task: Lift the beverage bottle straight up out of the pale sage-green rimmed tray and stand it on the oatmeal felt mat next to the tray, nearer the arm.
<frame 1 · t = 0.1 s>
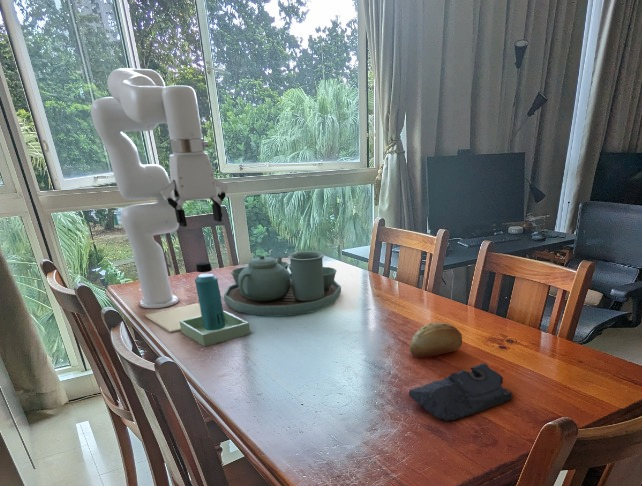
hand: (200, 223, 131), 31 cm above the table, tool pointing down, fingers open, 9 cm apart
mat: (188, 317, 163), on the table
bread roll: (436, 353, 134), on the table
tray: (215, 332, 151), on the table
beverage bottle: (215, 332, 151), resting on tray
folded black shirt: (458, 398, 113), on the table
tea set: (283, 299, 178), on the table
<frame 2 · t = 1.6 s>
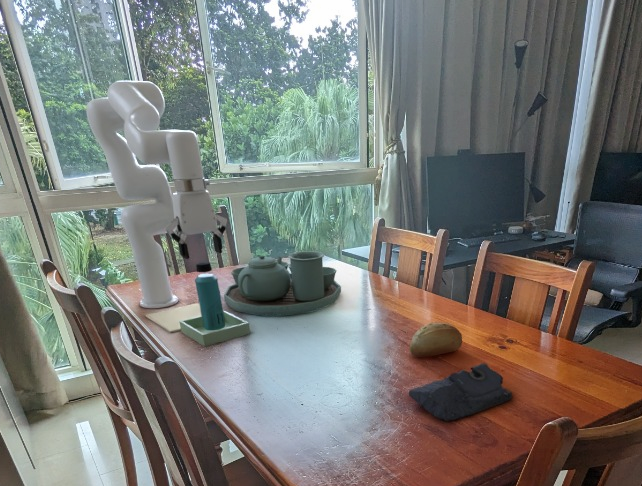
hand: (202, 255, 139), 22 cm above the table, tool pointing down, fingers open, 9 cm apart
nothing on the table moved.
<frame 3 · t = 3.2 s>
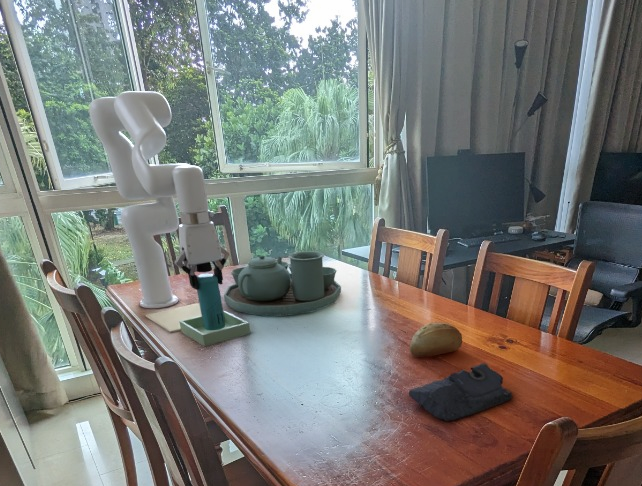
hand: (207, 285, 144), 14 cm above the table, tool pointing down, fingers closed on beverage bottle, 6 cm apart
beverage bottle: (215, 332, 151), resting on tray, touching gripper
everything else where it was.
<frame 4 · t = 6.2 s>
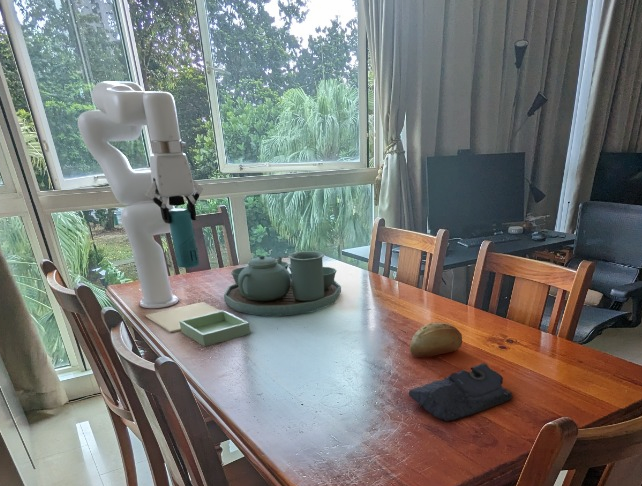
hand: (180, 220, 142), 30 cm above the table, tool pointing down, fingers closed on beverage bottle, 6 cm apart
beverage bottle: (189, 270, 150), point 16 cm above the table, touching gripper
everything else where it was.
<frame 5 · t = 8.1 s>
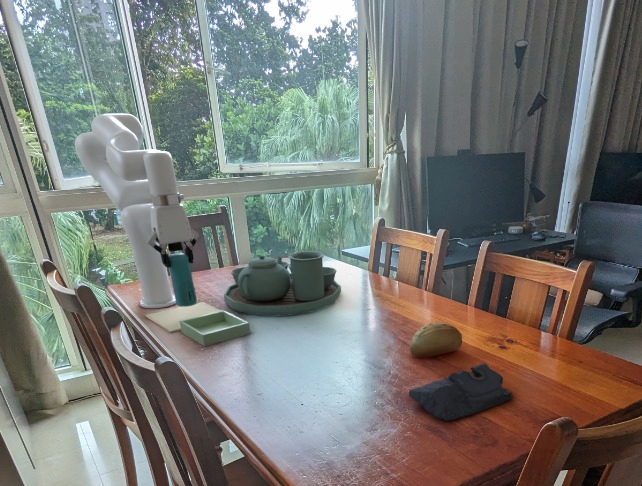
hand: (178, 264, 154), 17 cm above the table, tool pointing down, fingers closed on beverage bottle, 6 cm apart
beverage bottle: (187, 308, 161), point 3 cm above the table, touching gripper
everything else where it was.
when the fingers open (14 cm above the table, at t = 9.3 s): beverage bottle stays where it is, resting on mat.
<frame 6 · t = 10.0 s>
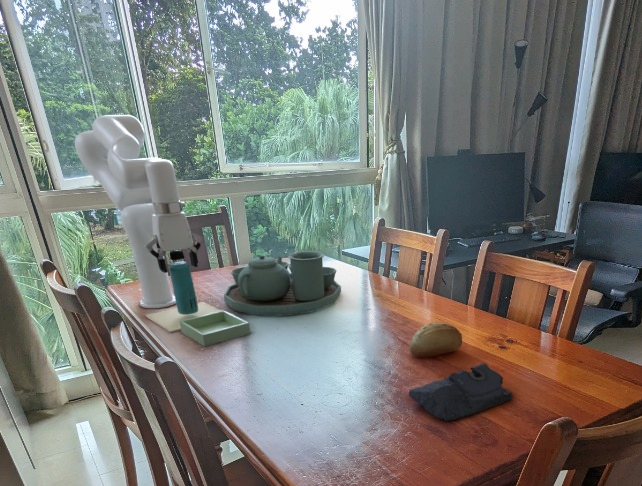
hand: (179, 269, 155), 15 cm above the table, tool pointing down, fingers open, 9 cm apart
beverage bottle: (189, 316, 163), resting on mat
everything else where it was.
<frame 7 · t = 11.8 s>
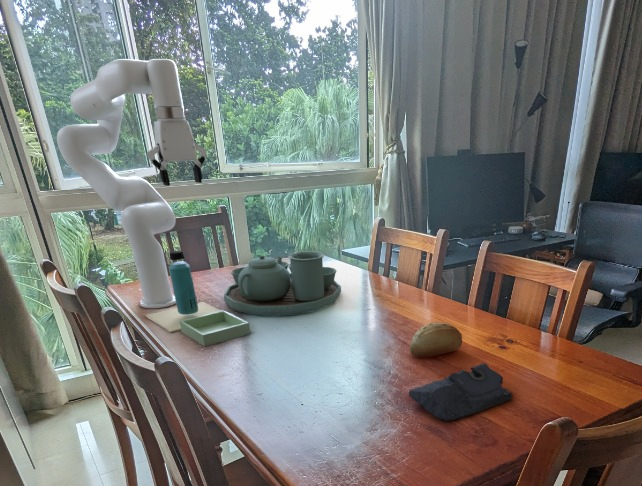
hand: (183, 183, 148), 38 cm above the table, tool pointing down, fingers open, 9 cm apart
nothing on the table moved.
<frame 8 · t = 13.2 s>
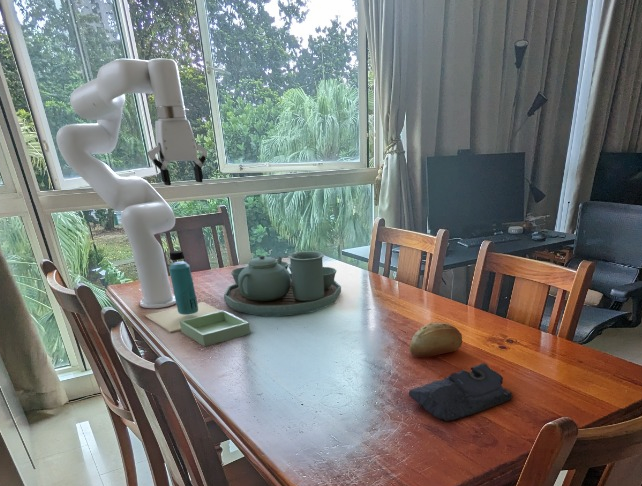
hand: (183, 183, 148), 38 cm above the table, tool pointing down, fingers open, 9 cm apart
nothing on the table moved.
at the end: beverage bottle inside the target area on the mat (1.0 cm from its centre), point 0.4 cm above the mat's base; beverage bottle tilted 0°; the gripper is holding nothing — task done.
